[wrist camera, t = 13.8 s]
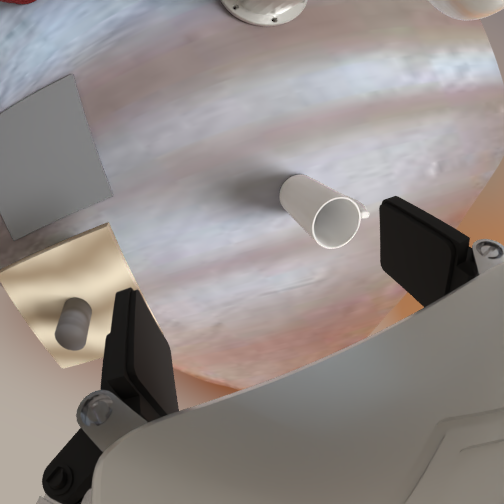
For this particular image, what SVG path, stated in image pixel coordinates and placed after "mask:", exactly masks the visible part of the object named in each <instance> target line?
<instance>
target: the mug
mask: <svg viewBox="0 0 504 504" xmlns="http://www.w3.org/2000/svg"><path fill="white" fill-rule="evenodd" d="M279 199H280V203H281V205H282V207H283V208H284V209H285V210H286V211H287V212H288V213H289V215H290V216H291V217H292V218H293V219H294V220H295V221H296V222H297V223H298V224H299V225H300V226H301V227H302V228H303V229H304V230H305V231H306V232H307V233H308V234H309V235H310V236H311V237H312V238H313V239H314V240H315V241H316V242H317V243H318V244H319V245H320V246H322V247H324V248H328V249H334V248H338V247H341V246H343V245H345V244H346V243H348V242H349V241H350V240H351V239H352V238H353V237H354V235H355V234H356V232H357V230H358V228H359V225H360V219H361V218H368V217H369V211H367V209H366V207H365V206H364V205H363V204H362V203H360V202H359V201H357V200H355V199H353V198H350V197H348V196H345V195H343V194H341V193H339V192H337V191H335V190H333V189H332V188H330V187H328V186H326V185H324V184H322V183H320V182H319V181H317V180H315V179H312V178H310V177H308V176H306V175H294V176H292V177H290V178H288V179H287V180H286V181H285V182H284V184H283V185H282V187H281V189H280V194H279Z"/></svg>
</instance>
